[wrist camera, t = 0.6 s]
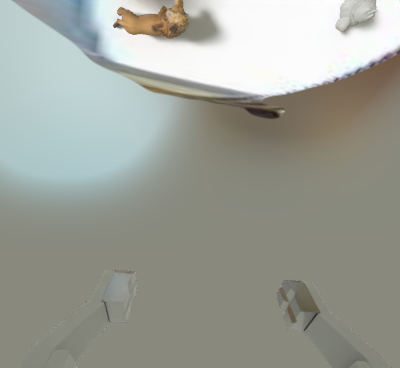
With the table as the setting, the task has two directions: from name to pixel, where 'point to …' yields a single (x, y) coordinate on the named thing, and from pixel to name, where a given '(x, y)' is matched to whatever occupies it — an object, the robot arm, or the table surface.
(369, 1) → the white rounded figure
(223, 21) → the table surface
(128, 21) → the lion figurine
